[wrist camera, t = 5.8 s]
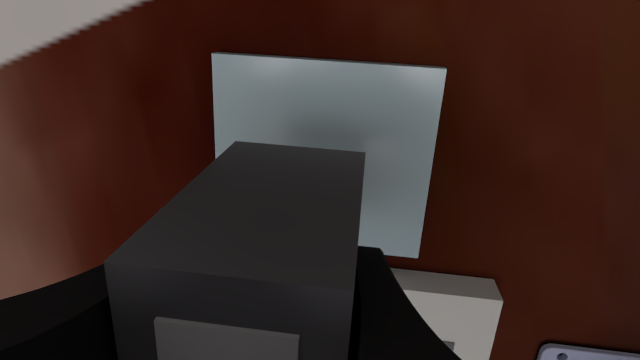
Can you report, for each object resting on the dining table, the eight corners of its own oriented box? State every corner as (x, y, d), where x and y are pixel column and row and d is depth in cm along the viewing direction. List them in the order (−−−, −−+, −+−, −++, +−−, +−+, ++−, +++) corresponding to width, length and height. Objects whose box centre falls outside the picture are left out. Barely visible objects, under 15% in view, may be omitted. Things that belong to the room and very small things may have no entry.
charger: (365, 152, 13) (354, 295, 6) (351, 304, 15) (330, 530, 9) (235, 140, 13) (99, 265, 7) (238, 290, 15) (135, 496, 9)
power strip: (493, 279, 22) (504, 303, 20) (464, 405, 25) (471, 436, 23) (143, 240, 24) (123, 259, 22) (156, 363, 27) (140, 389, 25)
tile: (444, 66, 19) (446, 68, 18) (416, 249, 22) (417, 258, 21) (217, 51, 20) (211, 53, 19) (223, 229, 23) (218, 236, 22)
